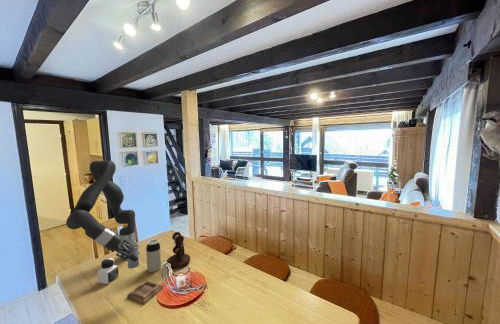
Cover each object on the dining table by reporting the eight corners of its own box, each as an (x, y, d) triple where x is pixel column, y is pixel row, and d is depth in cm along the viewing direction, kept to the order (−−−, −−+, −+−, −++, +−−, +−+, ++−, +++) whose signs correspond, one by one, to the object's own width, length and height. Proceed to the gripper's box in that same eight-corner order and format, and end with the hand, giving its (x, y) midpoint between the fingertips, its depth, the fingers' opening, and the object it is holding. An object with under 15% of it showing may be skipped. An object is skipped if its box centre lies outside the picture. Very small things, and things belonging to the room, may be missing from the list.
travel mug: (163, 266, 134) (162, 239, 132) (153, 273, 127) (152, 245, 125) (154, 263, 137) (153, 237, 136) (144, 270, 130) (142, 242, 129)
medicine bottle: (108, 284, 117) (107, 264, 116) (98, 283, 119) (96, 262, 118) (118, 276, 124) (117, 257, 123) (108, 275, 126) (107, 256, 125)
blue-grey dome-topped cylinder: (134, 261, 112) (133, 243, 111) (142, 264, 110) (141, 245, 109) (124, 267, 107) (123, 248, 106) (132, 269, 105) (131, 250, 104)
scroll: (193, 264, 137) (192, 235, 135) (170, 272, 128) (168, 241, 127) (186, 254, 149) (185, 227, 147) (164, 261, 141) (163, 232, 139)
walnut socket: (146, 283, 118) (146, 278, 118) (163, 288, 114) (162, 283, 114) (127, 297, 107) (127, 292, 107) (144, 304, 103) (144, 299, 103)
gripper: (111, 239, 97) (141, 258, 103) (117, 227, 110) (144, 245, 116) (98, 252, 96) (129, 271, 101) (106, 238, 109) (133, 256, 114)
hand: (137, 257), depth 109 cm, fingers closed on blue-grey dome-topped cylinder, 5 cm apart
